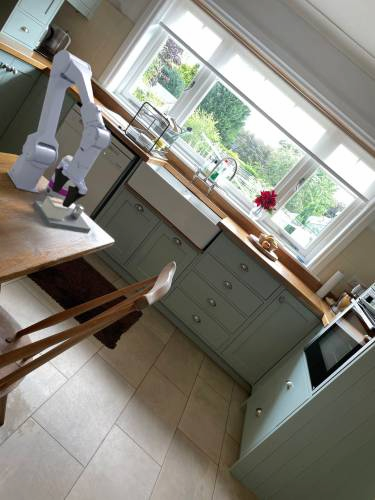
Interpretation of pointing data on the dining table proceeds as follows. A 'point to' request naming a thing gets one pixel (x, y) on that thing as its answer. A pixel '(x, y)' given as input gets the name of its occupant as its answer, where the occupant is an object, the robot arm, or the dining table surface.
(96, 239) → the dining table surface
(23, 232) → the dining table surface
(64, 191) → the supplement can
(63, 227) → the board
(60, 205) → the white cube with stripe
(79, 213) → the post
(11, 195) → the dining table surface
